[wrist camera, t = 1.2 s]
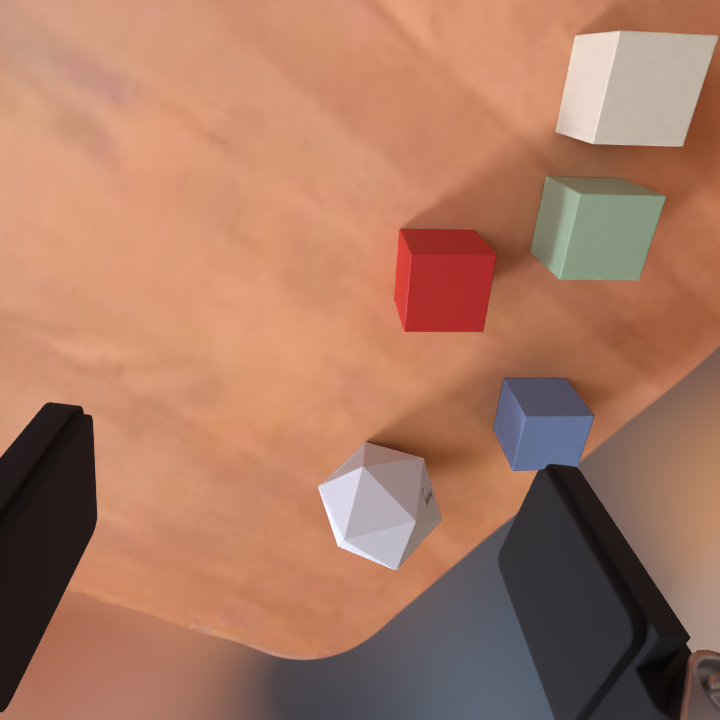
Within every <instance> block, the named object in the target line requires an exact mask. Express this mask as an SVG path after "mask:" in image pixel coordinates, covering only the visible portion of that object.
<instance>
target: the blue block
mask: <svg viewBox="0 0 720 720" xmlns="http://www.w3.org/2000/svg"><path fill="white" fill-rule="evenodd" d="M593 419H594V414H593V413H592V412H591V411H590V409H589V408H588V407H587V405H586V404H585V403H584V401H583V400H582V399H581V398H580V396H579V395H578V394H577V392H576V391H575V390H574V388H573V387H572V386H571V385H570V383H569V382H568V381H567V379H566V378H504V380H503V385H502V389H501V394H500V399H499V404H498V409H497V413H496V418H495V423H494V428H493V430H494V432H495V434H496V437H497V439H498V441H499V443H500V445H501V447H502V449H503V452H504V454H505V456H506V458H507V460H508V462H509V464H510V467H511V469H512V470H513V471H527V470H540V469H544V468H545V467H546V466H547V465H548V464H559V465H567V466H574V467H577V468H578V465H579V462H580V459H581V456H582V453H583V450H584V447H585V444H586V441H587V438H588V435H589V432H590V429H591V426H592V422H593Z"/></svg>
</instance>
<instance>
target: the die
mask: <svg viewBox="0 0 720 720" xmlns="http://www.w3.org/2000/svg"><path fill="white" fill-rule="evenodd" d="M318 488H319V491H320V494H321V497H322V500H323V503H324V506H325V509H326V512H327V515H328V518H329V521H330V524H331V527H332V530H333V533H334V535H335V538H336V541H337V544H338V547H341V548H343V549H346V550H348V551H350V552H353V553H355V554H357V555H360V556H362V557H365V558H367V559H369V560H372V561H374V562H377V563H379V564H381V565H384V566H386V567H389V568H391V569H393V570H397V569H398V568H399V567H400V566H401V565H402V564H403V562H404V561H405V560H406V559H407V558H408V557H409V556H410V555H411V554H412V552H413V551H414V550H415V549H416V548H417V547H418V546H419V545H420V544H421V542H422V541H423V540H424V539H425V538H426V537H427V536H428V535H429V533H430V532H431V531H432V530H433V529H434V528H435V527H436V526H437V525H438V523H439V522H440V521H441V520H442V518H441V515H440V512H439V508H438V505H437V501H436V498H435V495H434V491H433V488H432V485H431V481H430V478H429V475H428V471H427V468H426V465H425V461H424V458H421V457H418V456H414V455H411V454H407V453H403V452H400V451H396V450H393V449H389V448H386V447H382V446H378V445H375V444H371V443H368V442H365V443H364V444H363V445H361V446H360V447H359V448H358V449H357V450H356V451H355V452H354V453H353V454H352V455H351V456H350V457H349V458H348V459H347V460H346V461H345V462H344V463H343V464H341V465H340V466H339V467H338V468H337V469H336V470H335V471H334V472H333V473H332V474H331V475H330V476H329V477H328V478H327V479H326V480H325V481H324V482H323V483H321V484H320V485H319V486H318Z"/></svg>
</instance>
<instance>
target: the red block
mask: <svg viewBox="0 0 720 720" xmlns="http://www.w3.org/2000/svg"><path fill="white" fill-rule="evenodd" d="M496 256H497V255H496V254H495V252H494V251H493V250H492V249H491V248H490V247H489V246H488V245H487V244H486V242H485V241H484V240H483V239H482V238H481V237H480V236H479V235H478V234H477V233H476V231H475V230H438V229H400V230H399V242H398V255H397V268H396V282H395V295H394V300H395V303H396V306H397V310H398V313H399V316H400V320H401V323H402V326H403V329H404V331H405V332H483V330H484V325H485V319H486V313H487V308H488V302H489V296H490V290H491V285H492V279H493V273H494V268H495V262H496Z"/></svg>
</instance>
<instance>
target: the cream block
mask: <svg viewBox="0 0 720 720" xmlns="http://www.w3.org/2000/svg"><path fill="white" fill-rule="evenodd" d="M717 40H718V35H705V34H684V33H664V32H643V31H623V30H620V31H610V32H600V33H590V34H580V35H576V36H575V39H574V44H573V49H572V54H571V58H570V63H569V68H568V73H567V78H566V82H565V87H564V92H563V97H562V102H561V106H560V111H559V116H558V121H557V126H556V130H555V132H556V133H559V134H562V135H565V136H569V137H572V138H575V139H578V140H582V141H585V142H588V143H591V144H609V145H641V146H673V147H682V146H683V144H684V141H685V138H686V135H687V132H688V129H689V126H690V123H691V120H692V117H693V114H694V111H695V107H696V104H697V101H698V98H699V95H700V92H701V89H702V86H703V83H704V80H705V77H706V74H707V71H708V68H709V65H710V62H711V59H712V55H713V52H714V49H715V46H716V43H717Z"/></svg>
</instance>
